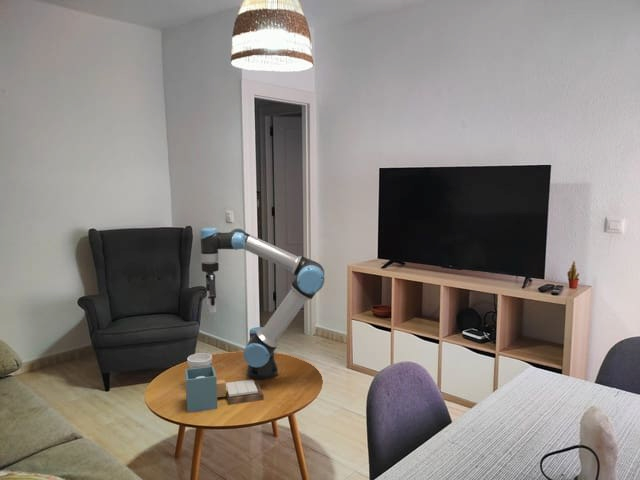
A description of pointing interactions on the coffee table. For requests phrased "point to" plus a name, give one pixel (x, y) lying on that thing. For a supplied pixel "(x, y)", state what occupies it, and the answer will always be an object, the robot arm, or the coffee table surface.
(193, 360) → the cup
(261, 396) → the board
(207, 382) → the tub
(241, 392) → the lid
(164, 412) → the coffee table surface
